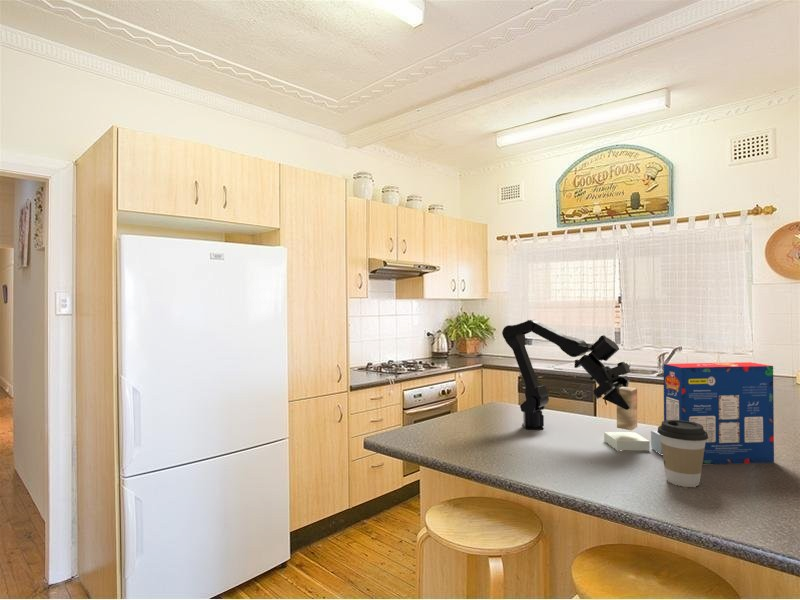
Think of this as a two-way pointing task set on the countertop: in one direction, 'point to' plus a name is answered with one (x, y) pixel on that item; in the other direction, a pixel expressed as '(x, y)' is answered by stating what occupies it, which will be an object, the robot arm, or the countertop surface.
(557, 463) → the countertop surface
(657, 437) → the grey cube
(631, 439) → the plinth
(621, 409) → the pillar
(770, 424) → the pasta box
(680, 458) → the coffee cup
